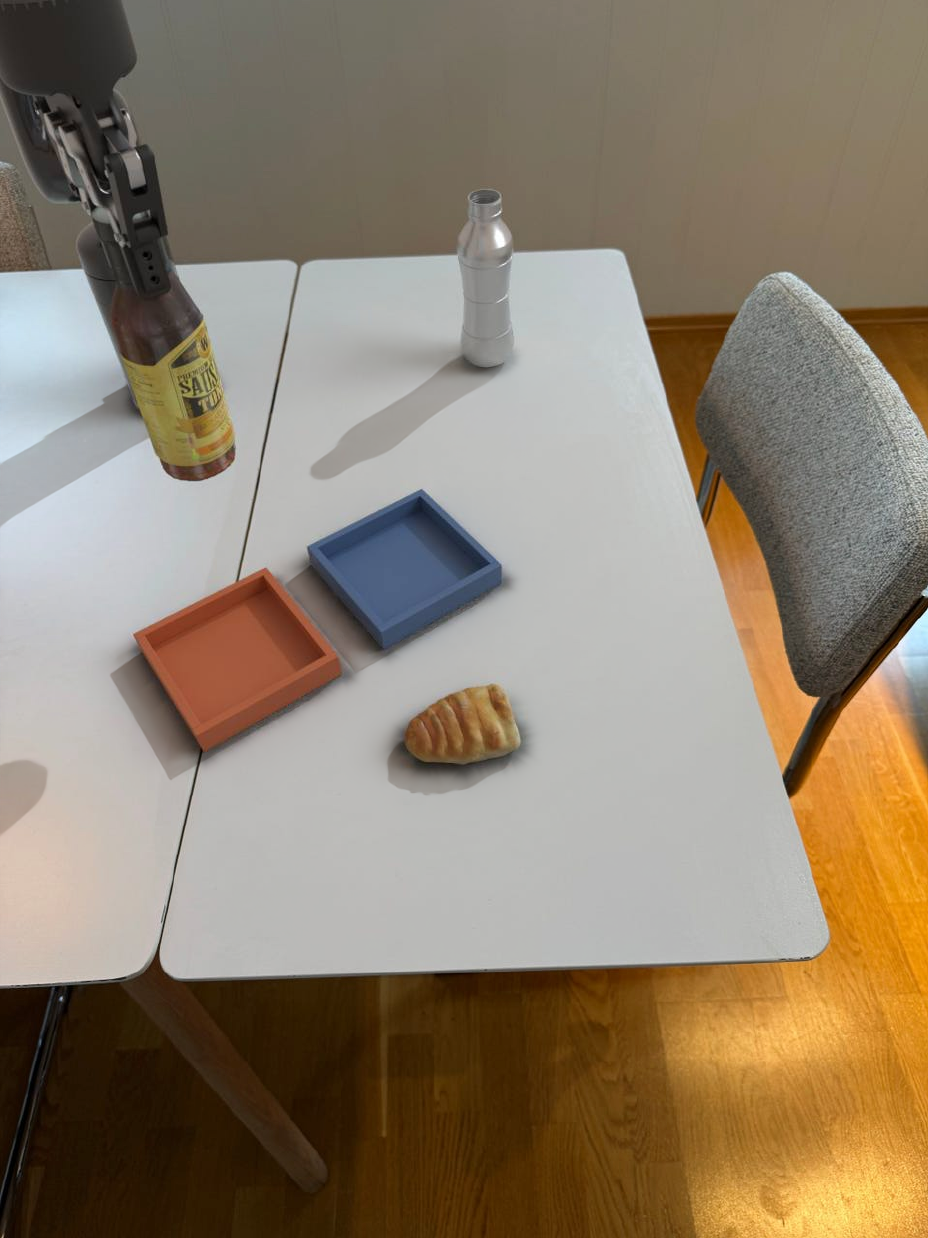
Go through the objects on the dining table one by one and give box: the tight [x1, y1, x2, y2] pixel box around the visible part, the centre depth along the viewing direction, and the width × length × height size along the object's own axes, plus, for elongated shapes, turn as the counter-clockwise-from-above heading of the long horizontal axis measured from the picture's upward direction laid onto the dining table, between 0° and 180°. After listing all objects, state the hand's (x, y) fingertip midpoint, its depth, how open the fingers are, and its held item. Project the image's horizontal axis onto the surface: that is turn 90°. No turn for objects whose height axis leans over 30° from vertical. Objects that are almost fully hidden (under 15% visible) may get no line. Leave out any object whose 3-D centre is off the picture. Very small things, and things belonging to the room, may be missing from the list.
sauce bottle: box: [90, 206, 237, 482], centre depth 64 cm, size 6×6×20 cm
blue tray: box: [306, 488, 503, 651], centre depth 87 cm, size 14×14×3 cm
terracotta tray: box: [132, 566, 343, 753], centre depth 81 cm, size 14×14×3 cm
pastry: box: [404, 683, 522, 765], centre depth 74 cm, size 9×7×4 cm
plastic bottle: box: [455, 188, 515, 368], centre depth 103 cm, size 6×7×20 cm
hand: (141, 279), depth 60 cm, fingers closed on sauce bottle, 4 cm apart
